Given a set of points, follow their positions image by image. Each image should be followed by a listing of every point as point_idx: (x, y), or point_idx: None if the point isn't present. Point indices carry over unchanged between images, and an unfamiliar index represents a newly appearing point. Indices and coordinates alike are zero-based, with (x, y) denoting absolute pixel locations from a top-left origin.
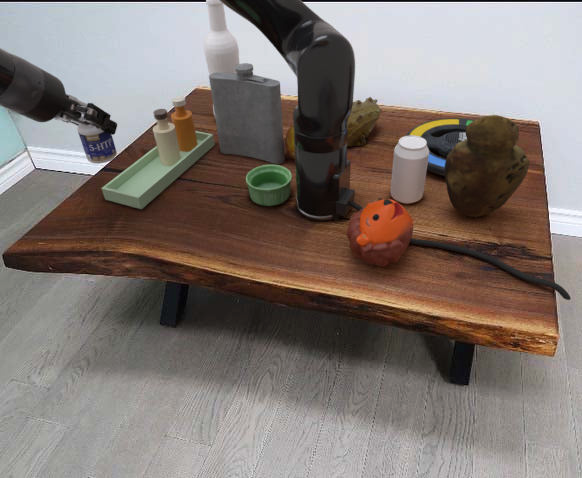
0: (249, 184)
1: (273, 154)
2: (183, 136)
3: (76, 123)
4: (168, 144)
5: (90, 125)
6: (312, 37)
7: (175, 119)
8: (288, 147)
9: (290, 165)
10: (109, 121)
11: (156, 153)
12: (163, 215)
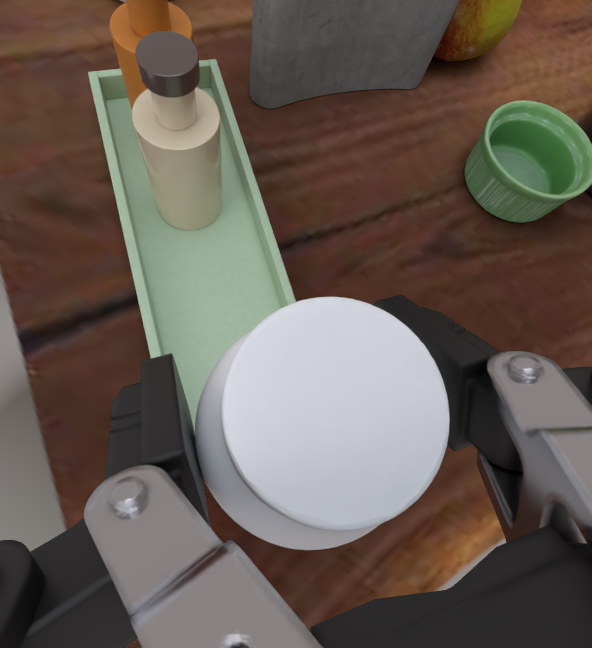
0: (541, 194)
1: (420, 66)
2: None
3: (206, 508)
4: (216, 169)
5: (497, 507)
6: None
7: None
8: (461, 34)
9: (441, 79)
10: (487, 348)
11: (128, 202)
12: None
